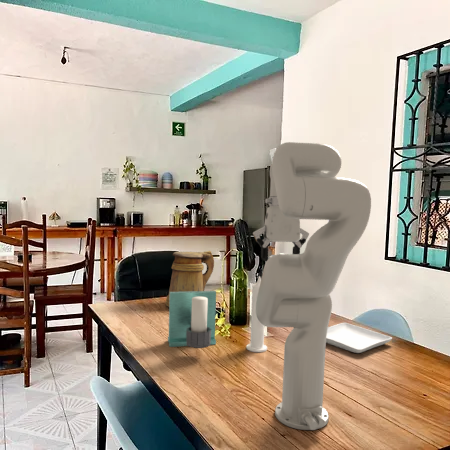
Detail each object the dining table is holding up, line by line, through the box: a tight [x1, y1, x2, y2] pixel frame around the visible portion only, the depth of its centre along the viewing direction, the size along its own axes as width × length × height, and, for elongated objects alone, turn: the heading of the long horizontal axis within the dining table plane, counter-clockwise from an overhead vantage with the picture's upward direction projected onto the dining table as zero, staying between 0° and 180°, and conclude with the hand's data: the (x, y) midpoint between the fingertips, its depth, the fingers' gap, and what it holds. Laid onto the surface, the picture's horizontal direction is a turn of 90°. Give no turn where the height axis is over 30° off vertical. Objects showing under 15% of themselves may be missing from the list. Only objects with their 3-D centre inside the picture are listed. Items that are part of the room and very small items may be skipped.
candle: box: [246, 276, 268, 353], centre depth 148 cm, size 7×7×25 cm
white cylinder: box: [191, 297, 208, 333], centre depth 139 cm, size 5×5×14 cm
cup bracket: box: [167, 290, 217, 349], centre depth 145 cm, size 20×16×18 cm
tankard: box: [165, 250, 215, 308], centre depth 202 cm, size 18×24×25 cm
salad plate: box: [326, 322, 393, 354], centre depth 158 cm, size 21×21×3 cm
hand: (280, 260), depth 130 cm, fingers open, 9 cm apart
